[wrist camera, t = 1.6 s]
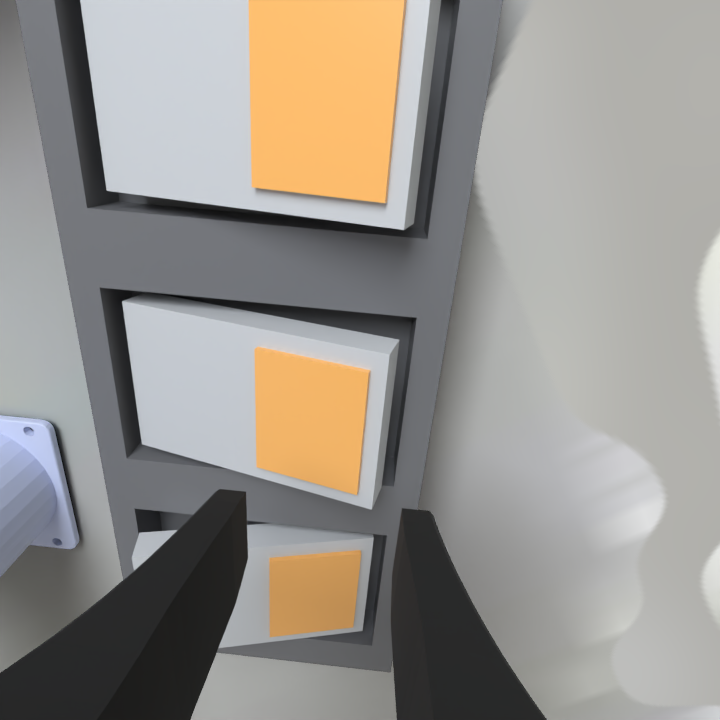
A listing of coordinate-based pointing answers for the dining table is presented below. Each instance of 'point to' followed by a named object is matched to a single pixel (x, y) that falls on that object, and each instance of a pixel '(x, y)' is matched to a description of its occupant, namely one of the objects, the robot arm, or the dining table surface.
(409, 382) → the power strip
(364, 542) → the outlet rocker
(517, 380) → the dining table surface
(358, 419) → the outlet rocker
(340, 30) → the rocker outlet
